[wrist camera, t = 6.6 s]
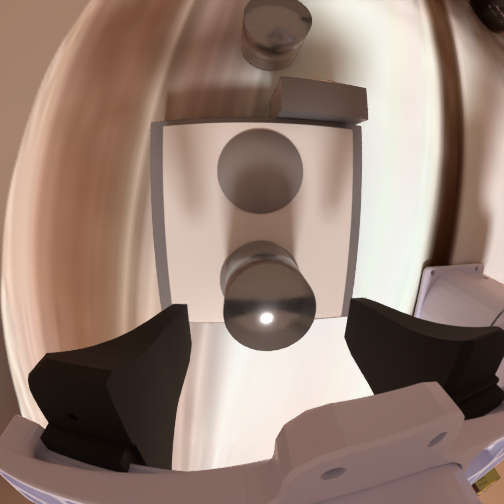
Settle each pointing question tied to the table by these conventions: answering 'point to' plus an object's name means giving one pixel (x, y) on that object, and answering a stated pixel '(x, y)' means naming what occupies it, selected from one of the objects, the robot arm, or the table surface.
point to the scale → (260, 195)
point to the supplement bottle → (490, 13)
